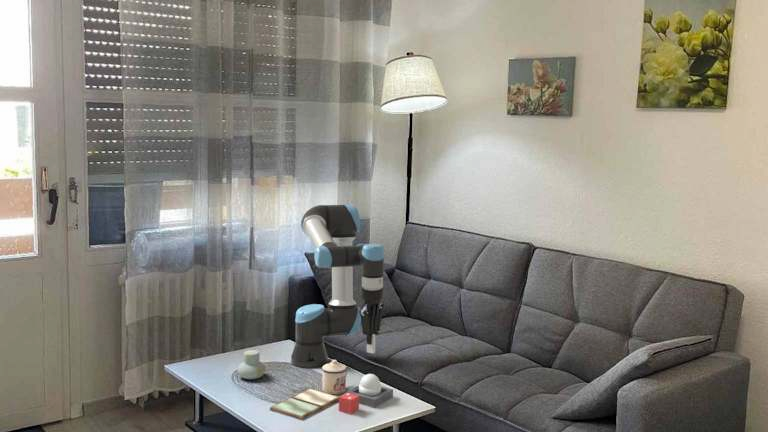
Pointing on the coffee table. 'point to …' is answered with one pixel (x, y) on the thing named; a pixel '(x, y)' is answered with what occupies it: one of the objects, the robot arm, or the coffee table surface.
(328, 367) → the teacup with lid
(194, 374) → the coffee table surface
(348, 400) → the red die
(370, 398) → the button bezel
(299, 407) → the wooden picture frame
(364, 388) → the dome button
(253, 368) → the air freshener
